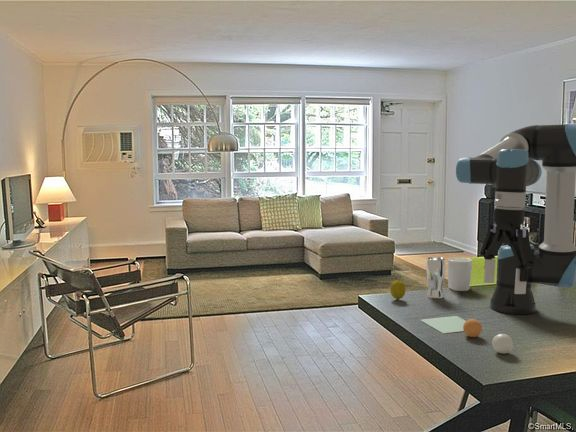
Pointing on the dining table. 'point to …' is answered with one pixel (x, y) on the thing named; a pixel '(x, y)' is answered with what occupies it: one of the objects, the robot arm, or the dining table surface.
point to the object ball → (472, 328)
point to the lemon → (397, 289)
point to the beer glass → (435, 277)
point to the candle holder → (459, 273)
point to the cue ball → (502, 343)
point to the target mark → (446, 324)
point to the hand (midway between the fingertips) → (503, 288)
